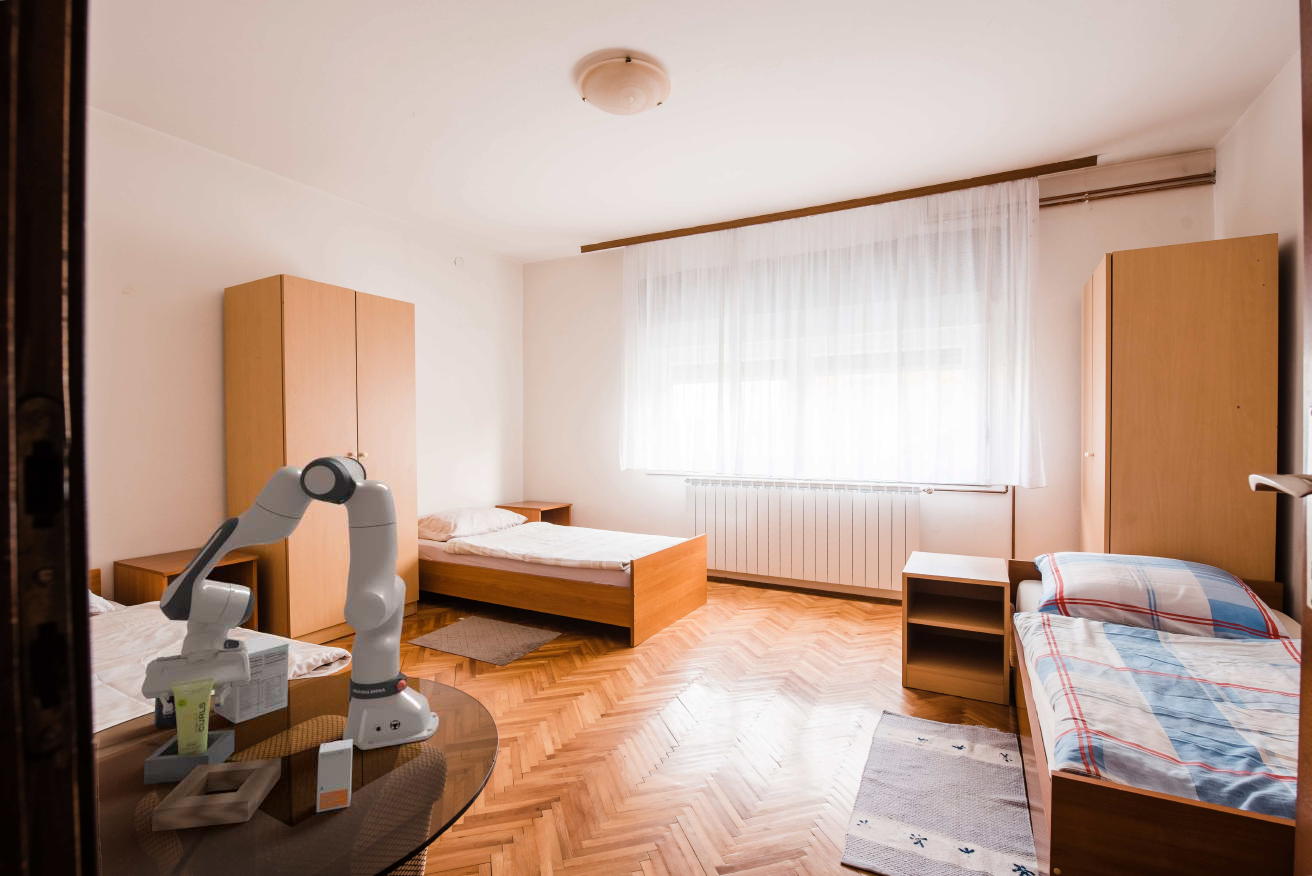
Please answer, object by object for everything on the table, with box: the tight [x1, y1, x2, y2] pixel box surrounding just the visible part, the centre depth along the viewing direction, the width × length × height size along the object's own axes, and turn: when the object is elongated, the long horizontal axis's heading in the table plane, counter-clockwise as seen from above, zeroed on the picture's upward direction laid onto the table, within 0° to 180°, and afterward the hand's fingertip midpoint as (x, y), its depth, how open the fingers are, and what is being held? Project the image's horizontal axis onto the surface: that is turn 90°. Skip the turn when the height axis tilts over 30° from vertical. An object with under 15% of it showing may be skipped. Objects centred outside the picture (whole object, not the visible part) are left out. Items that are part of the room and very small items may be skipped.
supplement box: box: [213, 635, 290, 724], centre depth 164 cm, size 13×13×18 cm
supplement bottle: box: [153, 696, 177, 730], centre depth 155 cm, size 7×7×12 cm
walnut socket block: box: [151, 757, 282, 832], centre depth 122 cm, size 16×16×4 cm
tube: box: [172, 677, 214, 755], centre depth 135 cm, size 6×5×20 cm
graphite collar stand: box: [143, 729, 236, 785], centre depth 135 cm, size 12×12×5 cm
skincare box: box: [316, 739, 354, 813], centre depth 122 cm, size 6×4×12 cm
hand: (193, 709), depth 136 cm, fingers open, 8 cm apart
